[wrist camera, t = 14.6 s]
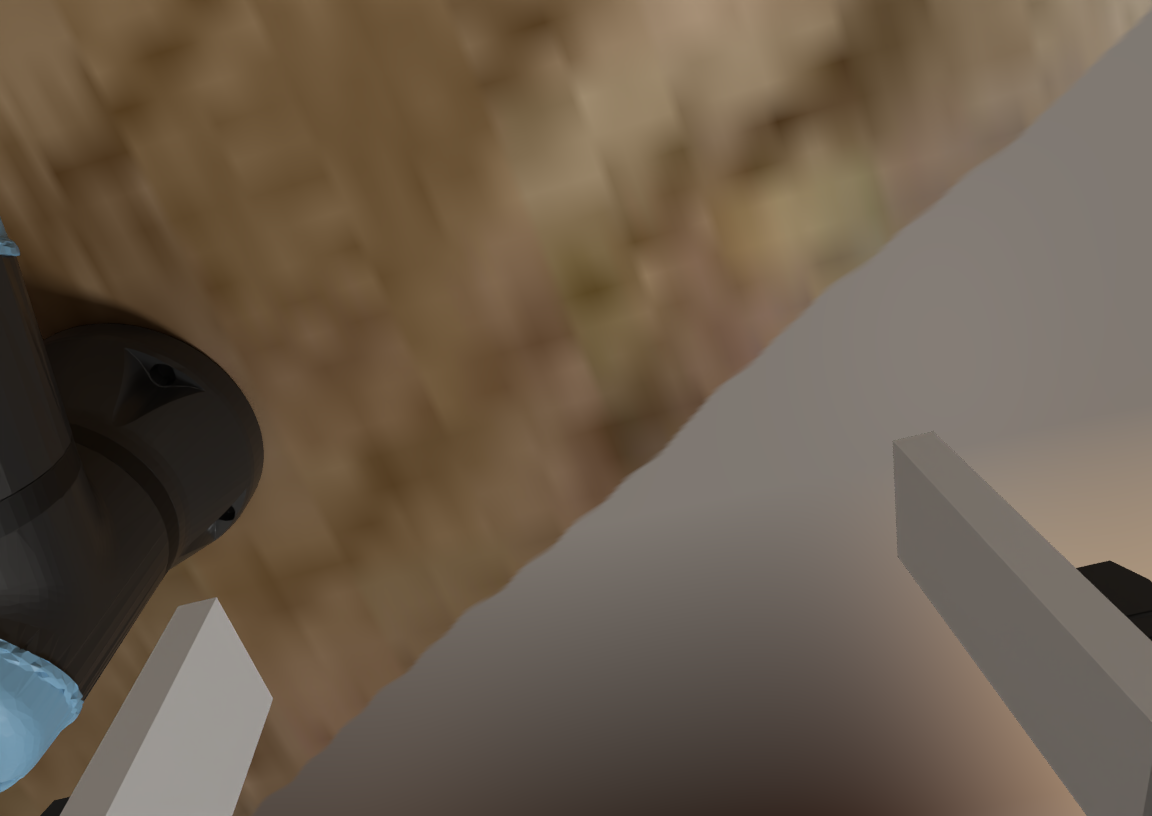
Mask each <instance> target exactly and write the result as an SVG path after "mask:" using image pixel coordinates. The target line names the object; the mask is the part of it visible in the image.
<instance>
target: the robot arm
mask: <svg viewBox="0 0 1152 816" xmlns="http://www.w3.org/2000/svg"><path fill="white" fill-rule="evenodd" d="M18 255H20V251H19V248H18V246H17V245H16V244H15V242H14V241H12V240H11V239H9V238H8V236H7V234H6V231H5V229H4V226H3V223H2V221H1V218H0V792H2V791H4V790H6V789H8V788H9V787H11V786H12V785H14V784H15V783H16V782H17V781H18V780H19V779H20V778H22V777H24V776H25V775H26V774H27V773H28V772H29V771H30V770H31V769H32V768H33V767H34V766H35V765H36V764H37V762H38V761H39V760H40V758H41V757H42V756H43V754H44V753H45V752H46V750H47V749H48V748H49V746H50V745H51V744H52V742H53V741H54V740H55V739H56V737H57V736H58V735H59V733H60V732H61V731H62V730H63V729H64V728H65V727H66V726H68V725H69V724H71V723H72V722H73V721H74V720H75V719H76V718H77V716H78V715H79V713H80V711H81V709H82V707H83V706H82V704H83V702H84V700H85V699H86V697H87V696H88V694H89V692H90V691H91V689H92V688H93V686H94V685H95V683H96V682H97V680H98V678H99V677H100V675H101V674H102V672H103V671H104V669H105V668H106V666H107V664H108V663H109V661H110V660H111V658H112V657H113V655H114V653H115V652H116V650H117V649H118V647H119V646H120V644H121V643H122V641H123V639H124V638H125V636H126V635H127V633H128V632H129V630H130V629H131V627H132V625H133V624H134V622H135V621H136V619H137V618H138V616H139V615H140V613H141V611H142V610H143V608H144V607H145V605H146V604H147V602H148V601H149V599H150V598H151V596H152V594H153V593H154V591H155V590H156V588H157V587H158V585H159V584H160V582H161V581H162V579H163V578H164V576H165V575H166V573H167V572H168V570H170V569H171V568H173V567H174V566H176V565H177V564H179V563H181V562H182V561H184V560H185V559H187V558H188V557H190V556H192V555H193V554H195V553H196V552H198V551H199V550H201V549H203V548H204V547H206V546H207V545H209V544H210V543H212V542H213V541H215V540H216V539H218V538H219V537H220V536H222V535H223V534H224V533H225V532H226V531H227V530H228V529H229V528H230V527H231V526H232V525H233V524H234V523H235V522H236V521H237V519H238V518H239V517H240V515H241V514H242V512H243V510H244V509H245V507H246V506H247V504H248V502H249V501H250V499H251V497H252V496H253V494H254V492H255V490H256V488H257V486H258V483H259V480H260V477H261V473H262V468H263V459H264V450H263V441H262V435H261V431H260V428H259V424H258V422H257V419H256V416H255V414H254V412H253V410H252V408H251V406H250V404H249V402H248V401H247V399H246V398H245V396H244V394H243V393H242V392H241V390H240V389H239V388H238V386H237V385H236V384H235V383H234V382H233V380H232V379H231V378H230V377H229V376H228V375H227V374H226V373H225V372H224V371H223V370H222V369H221V368H220V367H219V366H218V365H216V364H215V363H214V362H213V361H211V360H210V359H209V358H207V357H206V356H205V355H203V354H202V353H200V352H199V351H197V350H196V349H194V348H192V347H191V346H189V345H187V344H185V343H183V342H181V341H179V340H177V339H175V338H173V337H170V336H168V335H165V334H162V333H159V332H156V331H153V330H150V329H146V328H142V327H137V326H131V325H124V324H91V325H84V326H79V327H74V328H71V329H67V330H64V331H61V332H59V333H56V334H54V335H52V336H50V337H48V338H47V339H45V340H43V339H42V336H41V333H40V330H39V327H38V324H37V320H36V317H35V314H34V311H33V308H32V305H31V302H30V298H29V295H28V292H27V289H26V286H25V283H24V280H23V277H22V273H21V270H20V267H19V264H18V261H17V258H16V256H18ZM893 456H894V457H893V458H894V479H895V504H896V527H897V548H898V558H899V559H900V560H901V562H902V563H903V564H904V566H905V567H906V569H907V570H908V571H909V573H910V574H911V575H912V577H913V578H914V580H915V581H916V582H917V584H918V585H919V586H920V588H921V589H922V591H923V592H924V593H925V595H926V596H927V597H928V599H929V600H930V601H931V603H932V604H933V605H934V607H935V608H936V610H937V611H938V612H939V614H940V615H941V617H942V618H943V619H944V621H945V622H946V623H947V625H948V626H949V627H950V629H951V630H952V632H953V633H954V634H955V636H956V637H957V638H958V640H959V641H960V643H961V644H962V645H963V647H964V648H965V649H966V651H967V652H968V653H969V655H970V656H971V658H972V659H973V660H974V662H975V663H976V664H977V666H978V667H979V669H980V670H981V671H982V673H983V674H984V675H985V677H986V678H987V680H988V681H989V682H990V684H991V685H992V686H993V688H994V689H995V690H996V692H997V693H998V695H999V696H1000V697H1001V699H1002V700H1003V701H1004V703H1005V704H1006V706H1007V707H1008V708H1009V710H1010V711H1011V712H1012V714H1013V715H1014V716H1015V718H1016V719H1017V721H1018V722H1019V723H1020V725H1021V726H1022V728H1023V729H1024V730H1025V731H1026V733H1027V734H1028V736H1029V737H1030V738H1031V740H1032V741H1033V743H1034V744H1035V745H1036V747H1037V748H1038V749H1039V751H1040V752H1041V753H1042V755H1043V756H1044V758H1045V759H1046V760H1047V762H1048V763H1049V764H1050V766H1051V767H1052V769H1053V770H1054V771H1055V773H1056V774H1057V775H1058V777H1059V778H1060V779H1061V781H1062V782H1063V784H1064V785H1065V786H1066V788H1067V789H1068V790H1069V792H1070V793H1071V795H1072V796H1073V797H1074V799H1075V800H1076V801H1077V803H1078V804H1079V806H1080V807H1081V808H1082V810H1083V811H1084V812H1085V814H1086V815H1087V816H1152V582H1151V581H1150V580H1149V579H1147V578H1145V577H1143V576H1141V575H1139V574H1137V573H1135V572H1132V571H1130V570H1128V569H1126V568H1124V567H1122V566H1120V565H1118V564H1116V563H1114V562H1112V561H1106V562H1102V563H1097V564H1093V565H1088V566H1084V567H1079V568H1075V567H1074V566H1073V565H1072V564H1071V563H1070V562H1069V561H1068V560H1067V559H1066V558H1065V557H1064V556H1063V555H1061V554H1060V553H1059V552H1058V551H1057V550H1056V549H1055V548H1054V547H1053V546H1052V545H1051V544H1050V543H1049V542H1048V541H1047V540H1046V539H1045V538H1044V537H1043V536H1042V535H1041V534H1039V532H1038V531H1036V530H1035V529H1034V528H1033V527H1032V526H1031V525H1030V524H1029V523H1028V522H1027V521H1026V520H1025V519H1024V518H1023V517H1022V516H1021V515H1020V514H1019V513H1018V512H1017V511H1016V510H1015V509H1014V508H1012V506H1010V505H1009V504H1008V503H1007V502H1006V501H1005V500H1004V499H1003V498H1002V497H1001V496H1000V495H999V494H998V493H997V492H996V491H995V490H994V489H993V488H992V487H991V486H990V485H989V484H988V483H987V482H986V481H984V480H983V479H982V478H981V477H980V476H979V475H978V474H977V473H976V472H975V471H974V470H973V469H972V468H971V467H970V466H969V465H968V464H967V463H966V462H965V461H964V460H963V459H962V458H961V457H959V456H958V455H957V454H956V453H955V452H954V451H953V450H952V449H951V448H950V447H949V446H948V445H947V444H946V443H945V442H944V441H943V440H942V439H941V438H940V437H939V436H937V434H936V433H934V432H928V433H924V434H920V435H915V436H911V437H907V438H903V439H898V440H894V441H893ZM272 700H273V698H272V696H271V694H270V692H269V691H268V689H267V687H266V685H265V683H264V682H263V680H262V678H261V676H260V674H259V673H258V671H257V669H256V667H255V665H254V664H253V662H252V660H251V658H250V656H249V655H248V653H247V651H246V649H245V647H244V646H243V644H242V642H241V640H240V639H239V637H238V635H237V633H236V631H235V630H234V628H233V626H232V624H231V622H230V621H229V619H228V617H227V615H226V613H225V612H224V610H223V608H222V606H221V604H220V603H219V601H218V599H217V597H216V598H212V599H207V600H203V601H199V602H194V603H190V604H186V605H181V606H178V607H177V609H176V611H175V613H174V615H173V616H172V618H171V620H170V622H169V623H168V625H167V627H166V629H165V630H164V632H163V634H162V636H161V638H160V639H159V641H158V643H157V645H156V646H155V648H154V650H153V652H152V653H151V655H150V657H149V659H148V660H147V662H146V664H145V666H144V668H143V669H142V671H141V673H140V675H139V676H138V678H137V680H136V682H135V683H134V685H133V687H132V689H131V691H130V692H129V694H128V696H127V698H126V699H125V701H124V703H123V705H122V706H121V708H120V710H119V712H118V713H117V715H116V717H115V719H114V721H113V722H112V724H111V726H110V728H109V729H108V731H107V733H106V735H105V736H104V738H103V740H102V742H101V743H100V745H99V747H98V749H97V751H96V752H95V754H94V756H93V758H92V759H91V761H90V763H89V765H88V766H87V768H86V770H85V772H84V774H83V775H82V777H81V779H80V781H79V782H78V784H77V786H76V788H75V789H74V791H73V793H72V795H71V796H70V797H67V798H63V799H58V800H54V801H53V802H52V804H51V805H50V806H49V807H48V808H47V809H46V810H45V811H44V812H43V813H42V814H41V815H40V816H232V815H233V812H234V809H235V806H236V803H237V800H238V798H239V795H240V792H241V789H242V786H243V783H244V780H245V777H246V775H247V772H248V769H249V766H250V763H251V760H252V757H253V755H254V752H255V749H256V746H257V743H258V740H259V737H260V734H261V732H262V729H263V726H264V723H265V720H266V717H267V714H268V711H269V709H270V706H271V703H272Z"/></svg>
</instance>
